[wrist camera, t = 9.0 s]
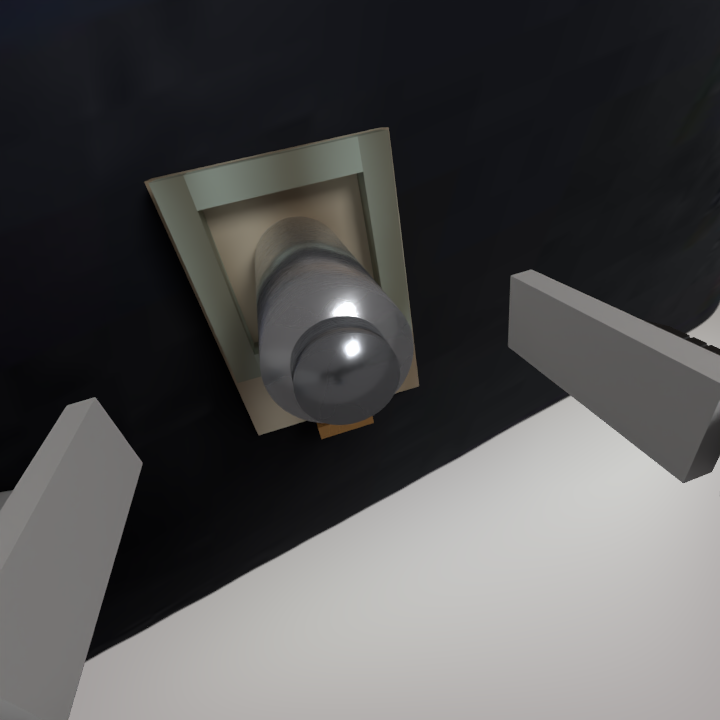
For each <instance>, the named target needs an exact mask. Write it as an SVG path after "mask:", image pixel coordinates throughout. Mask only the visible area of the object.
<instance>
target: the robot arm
mask: <svg viewBox="0 0 720 720" xmlns="http://www.w3.org/2000/svg"><path fill="white" fill-rule="evenodd" d="M508 347H510V348H511V349H512V350H513V351H515V352H516V353H517V354H518V355H520V356H521V357H522V358H524V359H525V360H526V361H527V362H529V363H530V364H531V365H533V366H534V367H535V368H536V369H538V370H539V371H540V372H542V373H543V374H544V375H545V376H547V377H548V378H549V379H551V380H552V381H553V382H554V383H556V384H557V385H558V386H559V387H561V388H562V389H563V390H565V391H566V392H567V393H568V394H570V395H571V396H572V397H574V398H575V399H576V400H578V401H579V402H580V403H581V404H583V405H584V406H585V407H586V408H588V409H589V410H590V411H591V412H593V413H594V414H595V415H597V416H598V417H599V418H600V419H602V420H603V421H604V422H606V423H607V424H608V425H609V426H611V427H612V428H613V429H615V430H616V431H617V432H619V433H620V434H621V435H622V436H624V437H625V438H626V439H627V440H629V441H630V442H631V443H633V444H634V445H635V446H636V447H638V448H639V449H640V450H641V451H643V452H644V453H645V454H647V455H648V456H649V457H650V458H652V459H653V460H654V461H656V462H657V463H658V464H659V465H661V466H662V467H663V468H665V469H666V470H667V471H668V472H670V473H671V474H672V475H673V476H675V477H676V478H677V479H679V480H680V481H681V482H682V483H685V482H688V481H690V480H693V479H695V478H698V477H700V476H703V475H705V474H708V473H710V472H712V470H713V468H714V466H715V464H716V462H717V460H718V458H719V456H720V349H719V348H717V347H714V346H712V345H710V346H708V345H707V343H705V342H703V341H701V340H699V339H696V338H694V337H693V338H690V337H689V335H687V334H685V333H683V332H681V331H678V330H676V329H674V328H672V327H669V326H666V325H661V324H657V323H653V322H649V321H645V320H644V321H643V320H641V319H639V318H636V317H634V316H632V315H630V314H628V313H625V312H623V311H621V310H619V309H617V308H614V307H612V306H610V305H608V304H606V303H604V302H601V301H599V300H597V299H595V298H593V297H590V296H588V295H586V294H584V293H582V292H579V291H577V290H575V289H573V288H571V287H569V286H566V285H564V284H562V283H560V282H558V281H555V280H553V279H551V278H549V277H547V276H544V275H542V274H540V273H538V272H536V271H533V270H528V271H525V272H522V273H518V274H515V275H511V283H510V309H509V334H508ZM142 464H143V463H142V461H141V460H140V459H139V457H138V456H137V455H136V453H135V452H134V450H133V449H132V448H131V446H130V445H129V443H128V442H127V441H126V439H125V438H124V436H123V435H122V434H121V432H120V431H119V430H118V428H117V427H116V425H115V424H114V423H113V421H112V420H111V418H110V417H109V416H108V414H107V413H106V411H105V410H104V409H103V407H102V406H101V404H100V403H99V402H98V400H97V399H96V398H95V397H94V398H91V399H88V400H84V401H81V402H77V403H74V404H71V405H67V406H66V408H65V409H64V411H63V413H62V414H61V416H60V417H59V419H58V420H57V422H56V424H55V425H54V427H53V428H52V430H51V431H50V433H49V435H48V436H47V438H46V439H45V441H44V443H43V444H42V446H41V447H40V449H39V450H38V452H37V454H36V455H35V457H34V458H33V460H32V461H31V463H30V465H29V466H28V468H27V469H26V471H25V473H24V474H23V476H22V477H21V479H20V480H19V482H18V484H17V485H16V487H15V488H14V490H13V491H12V493H11V495H10V496H9V498H8V499H7V501H6V503H5V504H4V506H3V507H2V509H1V510H0V720H68V718H69V715H70V711H71V708H72V704H73V700H74V697H75V694H76V691H77V687H78V684H79V680H80V677H81V673H82V670H83V667H84V663H85V660H86V656H87V653H88V649H89V646H90V642H91V639H92V636H93V632H94V629H95V625H96V622H97V618H98V615H99V612H100V608H101V605H102V601H103V598H104V594H105V591H106V587H107V584H108V581H109V577H110V574H111V570H112V567H113V563H114V560H115V557H116V553H117V550H118V546H119V543H120V539H121V536H122V532H123V529H124V526H125V522H126V519H127V515H128V512H129V508H130V505H131V502H132V498H133V495H134V491H135V488H136V484H137V481H138V477H139V474H140V471H141V467H142Z"/></svg>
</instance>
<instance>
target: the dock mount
mask: <svg viewBox="0 0 720 720" xmlns="http://www.w3.org/2000/svg"><path fill="white" fill-rule="evenodd" d="M145 185H146V187H147V189H148V191H149V193H150V196H151V198H152V200H153V202H154V204H155V207H156V209H157V211H158V213H159V216H160V218H161V220H162V222H163V224H164V227H165V229H166V231H167V233H168V236H169V238H170V240H171V242H172V244H173V247H174V249H175V251H176V253H177V256H178V258H179V260H180V262H181V264H182V267H183V269H184V271H185V273H186V275H187V278H188V280H189V282H190V284H191V287H192V289H193V291H194V293H195V295H196V298H197V300H198V302H199V304H200V307H201V309H202V311H203V313H204V315H205V318H206V320H207V322H208V324H209V327H210V329H211V331H212V333H213V335H214V338H215V340H216V342H217V344H218V346H219V349H220V351H221V353H222V355H223V358H224V360H225V362H226V364H227V366H228V369H229V371H230V373H231V375H232V378H233V380H234V382H235V384H236V386H237V389H238V391H239V393H240V395H241V398H242V400H243V402H244V404H245V406H246V409H247V411H248V413H249V415H250V418H251V420H252V422H253V424H254V426H255V429H256V431H257V433H258V435H262V434H265V433H268V432H271V431H275V430H278V429H281V428H284V427H288V426H291V425H294V424H297V423H301V422H304V421H307V420H303V419H300V418H298V417H296V416H293V415H292V414H290V413H288V412H286V411H285V410H284V409H282V408H281V407H280V406H279V405H278V404H277V403H276V402H275V401H274V400H273V399H272V398H271V396H270V395H269V393H268V392H267V390H266V388H265V386H264V383H263V380H262V377H261V371H260V359H259V340H258V321H257V303H256V284H255V265H254V257H255V250H256V247H257V244H258V242H259V240H260V238H261V237H262V235H263V234H264V232H265V231H266V230H267V229H268V228H269V227H270V226H272V225H273V224H275V223H276V222H278V221H280V220H282V219H286V218H289V217H298V216H301V217H309V218H313V219H315V220H318V221H320V222H322V223H323V224H325V225H326V226H327V227H329V228H330V229H331V230H332V231H333V232H334V233H335V235H336V236H337V237H338V238H339V239H340V240H341V242H342V243H343V244H344V245H345V246H346V248H347V249H348V250H349V251H350V252H351V253H352V255H353V256H354V257H355V258H356V259H357V260H358V262H359V263H360V264H361V265H362V266H363V267H364V269H365V270H366V271H367V272H368V273H369V274H370V276H371V277H372V278H373V279H374V280H375V281H376V283H377V284H378V285H379V286H380V287H381V288H382V290H383V291H384V292H385V293H386V294H387V295H388V297H389V298H390V299H391V300H392V301H393V302H394V304H395V305H396V306H397V307H398V308H399V310H400V311H401V312H402V313H403V315H404V316H405V318H406V320H407V321H408V323H409V326H410V328H411V331H412V336H413V330H412V322H411V313H410V305H409V296H408V288H407V280H406V271H405V263H404V254H403V246H402V237H401V229H400V220H399V212H398V203H397V195H396V186H395V178H394V169H393V161H392V152H391V144H390V135H389V127H388V128H376V129H372V130H368V131H363V132H359V133H354V134H350V135H345V136H341V137H336V138H332V139H327V140H323V141H318V142H314V143H309V144H305V145H300V146H296V147H291V148H287V149H282V150H278V151H273V152H269V153H264V154H260V155H255V156H251V157H246V158H242V159H237V160H233V161H228V162H224V163H220V164H215V165H211V166H206V167H202V168H197V169H193V170H188V171H184V172H179V173H175V174H170V175H166V176H161V177H157V178H152V179H150V180H148V181H146V182H145ZM413 342H414V339H413ZM417 386H419V381H418V373H417V364H416V356H415V347H414V352H413V360H412V364H411V367H410V370H409V372H408V375H407V377H406V379H405V380H404V382H403V384H402V385H401V387H400V388H399V389H398V391H397V392H396V393H398V392H401V391H404V390H408V389H411V388H414V387H417Z"/></svg>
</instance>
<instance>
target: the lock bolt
mask: <svg viewBox="0 0 720 720" xmlns="http://www.w3.org/2000/svg"><path fill="white" fill-rule="evenodd" d="M371 423H374V421H373V417H372V416H371V417H369V418H367V419H365V420H363V421H360V422H357V423H353V424H347V425H331V424H326V423H317V426H318V430H319V433H320V436H321V439H324V438H327V437H330V436H333V435H336V434H339V433H343V432H346V431H349V430H352V429H355V428H359V427H362V426H365V425H368V424H371Z"/></svg>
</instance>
